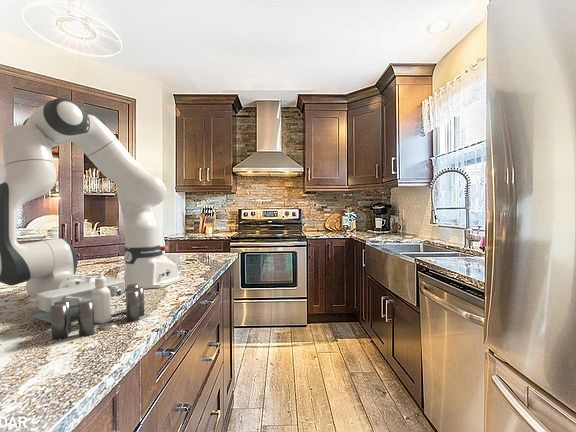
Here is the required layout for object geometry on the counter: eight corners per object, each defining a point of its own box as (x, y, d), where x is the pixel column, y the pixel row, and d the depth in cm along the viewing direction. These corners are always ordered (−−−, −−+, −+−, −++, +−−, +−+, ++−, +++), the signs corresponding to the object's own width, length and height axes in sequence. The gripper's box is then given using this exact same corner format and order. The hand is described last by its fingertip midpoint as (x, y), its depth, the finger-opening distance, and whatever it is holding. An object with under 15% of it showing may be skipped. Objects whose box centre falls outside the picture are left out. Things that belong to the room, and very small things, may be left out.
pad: (70, 308, 96) (69, 305, 96) (89, 312, 91) (88, 309, 91) (33, 317, 88) (33, 314, 88) (52, 323, 83) (52, 319, 83)
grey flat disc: (107, 325, 82) (107, 322, 82) (121, 326, 81) (121, 323, 81) (96, 331, 78) (96, 327, 78) (111, 331, 78) (111, 328, 78)
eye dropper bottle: (90, 325, 81) (88, 275, 81) (92, 318, 86) (91, 271, 86) (111, 322, 83) (109, 273, 83) (112, 316, 88) (110, 270, 88)
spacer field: (134, 308, 94) (134, 283, 94) (158, 313, 90) (157, 286, 90) (42, 337, 74) (41, 305, 74) (67, 344, 70) (65, 311, 70)
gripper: (25, 287, 82) (56, 294, 75) (106, 272, 99) (137, 276, 93) (26, 314, 82) (57, 322, 75) (106, 294, 100) (138, 299, 93)
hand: (102, 297), depth 84 cm, fingers open, 8 cm apart
